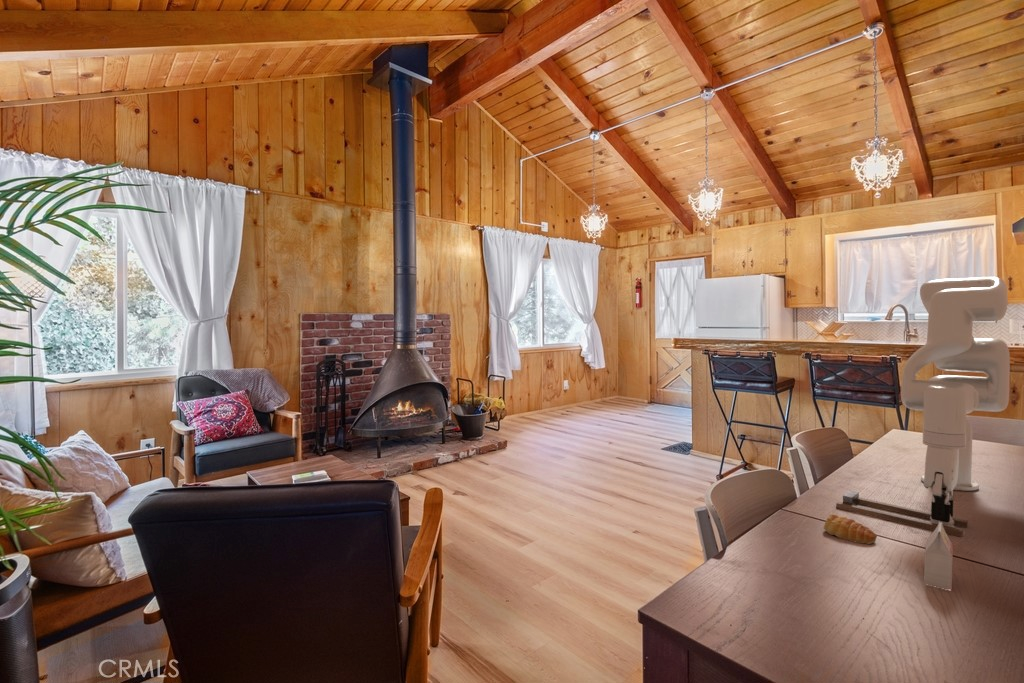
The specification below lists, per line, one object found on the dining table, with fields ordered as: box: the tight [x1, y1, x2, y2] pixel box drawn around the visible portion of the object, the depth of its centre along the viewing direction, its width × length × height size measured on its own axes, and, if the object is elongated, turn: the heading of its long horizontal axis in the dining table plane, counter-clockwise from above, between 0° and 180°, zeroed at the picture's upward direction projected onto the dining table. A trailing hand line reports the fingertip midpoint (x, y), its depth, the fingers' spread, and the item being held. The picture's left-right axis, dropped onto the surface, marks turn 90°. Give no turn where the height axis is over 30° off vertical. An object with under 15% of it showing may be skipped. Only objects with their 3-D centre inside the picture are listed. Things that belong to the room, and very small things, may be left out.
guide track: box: [835, 497, 969, 538], centre depth 122 cm, size 9×24×1 cm, turn 41°
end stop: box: [842, 490, 860, 506], centre depth 129 cm, size 6×2×3 cm, turn 132°
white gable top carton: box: [923, 521, 954, 589], centre depth 92 cm, size 4×7×10 cm, turn 138°
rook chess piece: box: [929, 493, 956, 528], centre depth 116 cm, size 4×4×8 cm
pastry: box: [823, 513, 878, 545], centre depth 111 cm, size 9×7×4 cm
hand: (942, 517), depth 116 cm, fingers closed on rook chess piece, 3 cm apart
